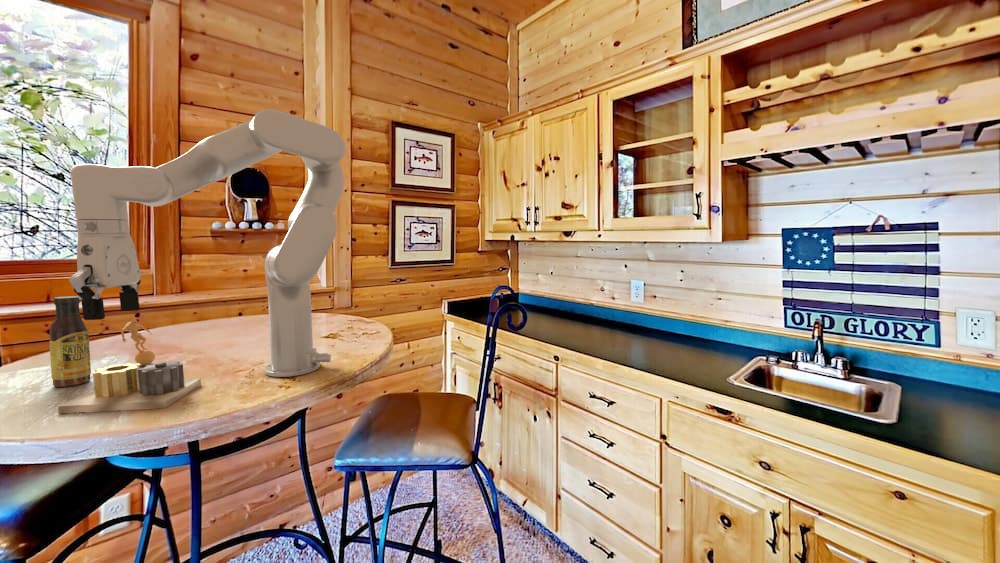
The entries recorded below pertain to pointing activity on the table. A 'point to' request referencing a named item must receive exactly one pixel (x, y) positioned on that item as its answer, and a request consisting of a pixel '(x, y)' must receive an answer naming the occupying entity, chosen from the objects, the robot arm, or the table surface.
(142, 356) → the figurine
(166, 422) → the table surface
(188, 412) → the table surface
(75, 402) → the gear board
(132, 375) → the cream toothed wheel
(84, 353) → the sauce bottle
